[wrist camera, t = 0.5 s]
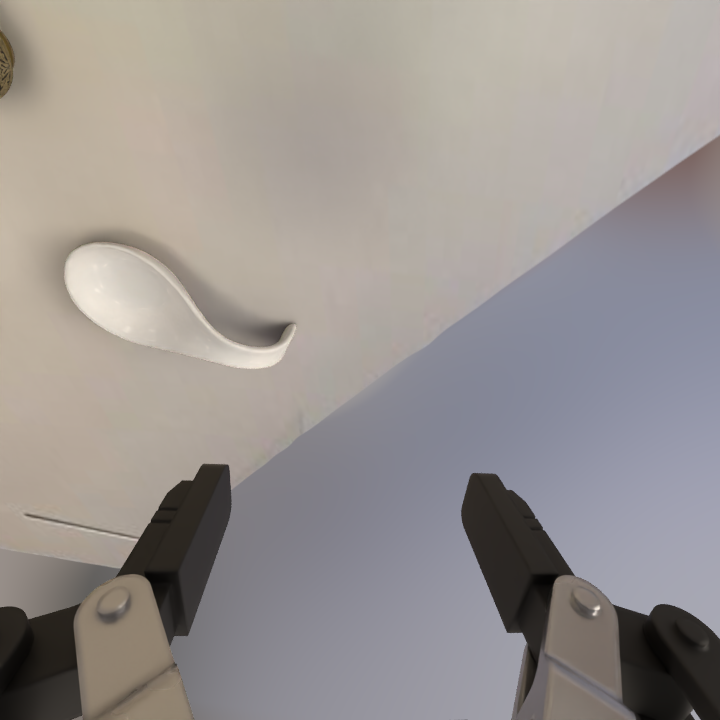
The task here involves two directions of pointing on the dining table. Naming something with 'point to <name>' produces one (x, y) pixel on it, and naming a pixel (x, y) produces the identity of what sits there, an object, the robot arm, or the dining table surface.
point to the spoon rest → (153, 307)
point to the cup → (5, 64)
